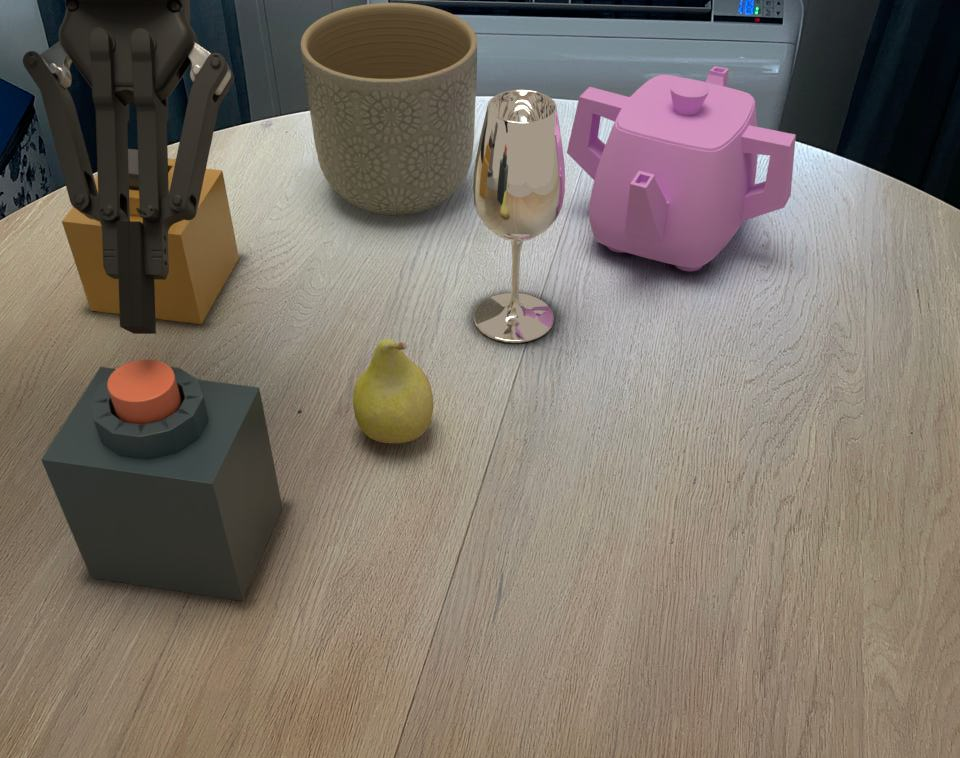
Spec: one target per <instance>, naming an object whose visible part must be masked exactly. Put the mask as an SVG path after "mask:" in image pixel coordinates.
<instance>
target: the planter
mask: <svg viewBox="0 0 960 758" xmlns="http://www.w3.org/2000/svg"><path fill="white" fill-rule="evenodd" d="M300 53H301V62H302V69H303V75H304V83H305V89H306V96H307V101H308V108H309V113H310V120H311V126H312V134H313V142H314V146H315V147H314V148H315V151H316V156H317V160H318V163H319V167H320V169H321V172H322V174H323V176H324V178H325V180H326V182H327V183H328V184H329V186H330V187H331V188H332V189H333V190H334V191H335V192H336V193H337V195H339V196H340V197H341V198H343V199H344V200H346V201H347V202H348V203H350V204H352V205H353V206H355V207H357V208H359V209H362V210H364V211H367V212H370V213H373V214H377V215H384V216H385V215H386V216H406V215H413V214H418V213H422V212H425V211H428V210H430V209H432V208H435V207H437V206H438V205H440V204H441V203H443V202H445V201H446V200H447V199H448V198H450V197H451V196H452V195H453V194H454V193H455V192H456V191H457V190H458V189H459V188H460V187H461V185H463V182H464V181H465V179H466V177H467V175H468V173H469V171H470V168H471V164H472V161H473V160H472V159H473V153H474V145H475V144H474V143H475V123H476V122H475V121H476V99H477V96H476V94H477V79H478V77H477V75H478V37H477V35H476V32H475V30H474V29H473V28H472V27H471V25H470V24H469V23H467V21H465V20H464V19H462V18H461V17H459V16H457V15H455V14H453V13H452V12H448V11H446V10H443V9H440V8H436V7H433V6H430V5H429V6H428V5H425V4H424V5H423V4H417V3H409V2H376V3H375V2H374V3H367V4H359V5H355V6H354V5H353V6H351V7H346V8H343V9H339V10H335V11H333V12H330V13H329V14H327V15H324V16H322V17H321V18H319V19H317V20H316V21H314V22H313V23H312V24H310V25H309V26H308V28H306V30H305V31H304V33H303V35H302V36H301V39H300Z"/></svg>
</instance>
